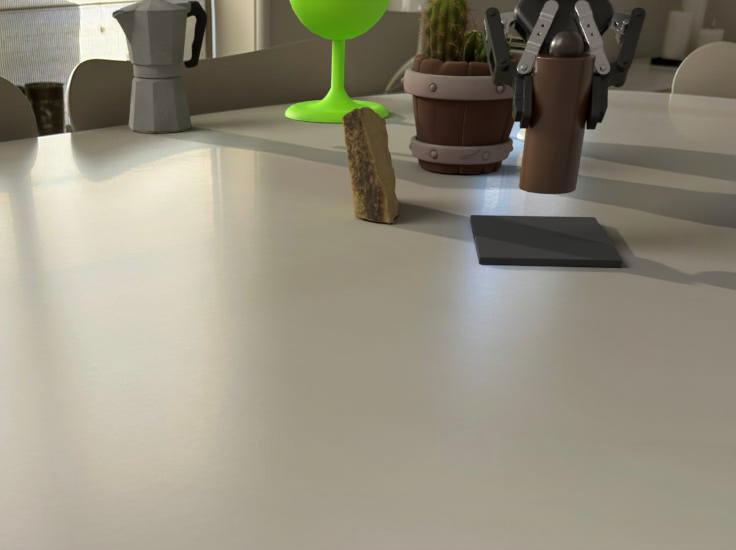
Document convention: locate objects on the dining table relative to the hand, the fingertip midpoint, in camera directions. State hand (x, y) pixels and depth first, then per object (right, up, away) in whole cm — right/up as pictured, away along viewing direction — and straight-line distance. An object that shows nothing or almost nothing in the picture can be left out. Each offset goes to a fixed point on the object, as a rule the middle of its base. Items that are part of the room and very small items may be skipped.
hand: (559, 122), depth 90 cm
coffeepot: (-39, +30, +64) cm, 81 cm away
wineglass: (-13, +37, +73) cm, 83 cm away
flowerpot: (-1, +13, +37) cm, 40 cm away
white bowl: (+12, +23, +52) cm, 58 cm away
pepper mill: (0, -4, +5) cm, 6 cm away
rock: (-13, 0, +19) cm, 23 cm away
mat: (0, -8, +7) cm, 10 cm away
